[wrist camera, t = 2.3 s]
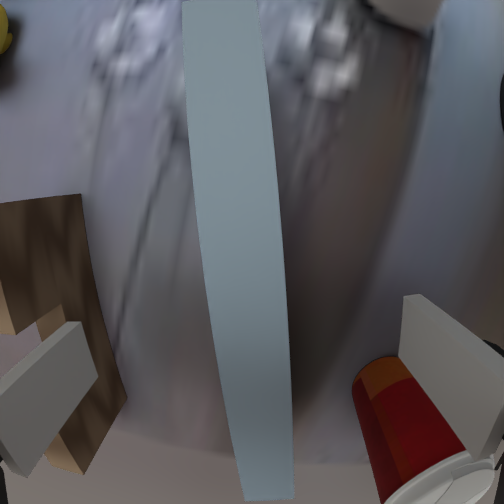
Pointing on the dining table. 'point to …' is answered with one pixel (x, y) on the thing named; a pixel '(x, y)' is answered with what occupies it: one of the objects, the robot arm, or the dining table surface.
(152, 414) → the dining table surface
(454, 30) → the dining table surface
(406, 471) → the paper cup
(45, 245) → the notched walnut block
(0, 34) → the teapot
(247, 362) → the slate board
